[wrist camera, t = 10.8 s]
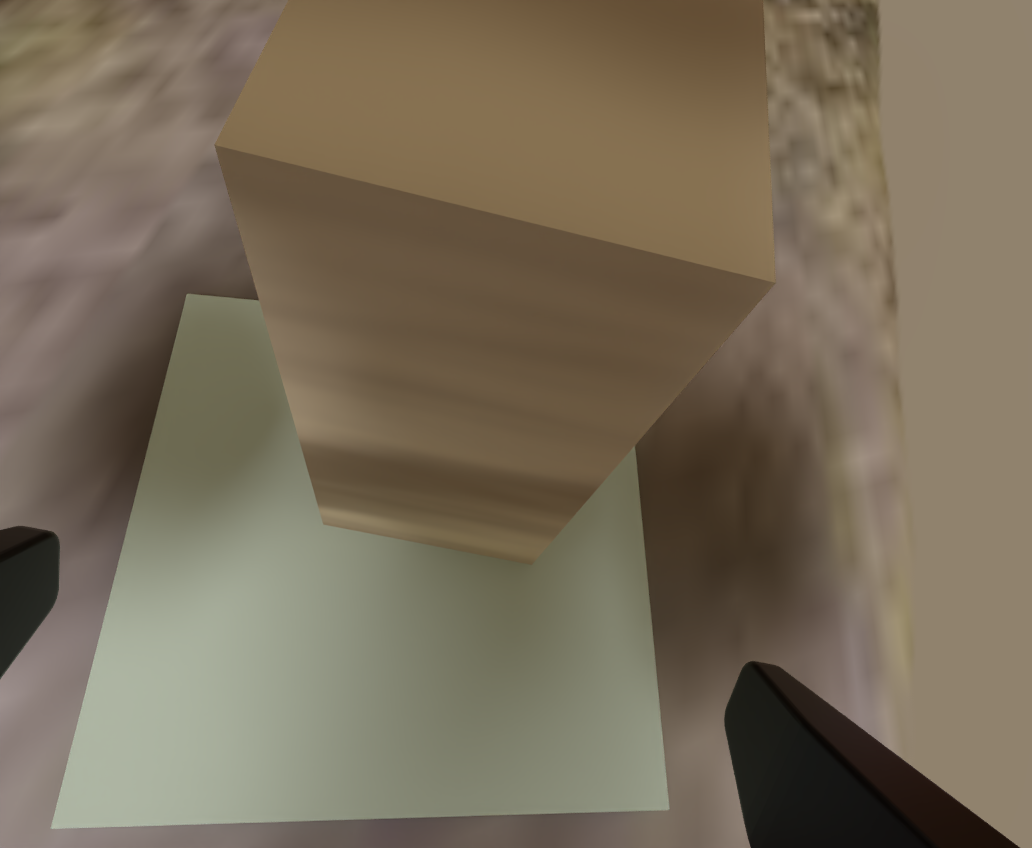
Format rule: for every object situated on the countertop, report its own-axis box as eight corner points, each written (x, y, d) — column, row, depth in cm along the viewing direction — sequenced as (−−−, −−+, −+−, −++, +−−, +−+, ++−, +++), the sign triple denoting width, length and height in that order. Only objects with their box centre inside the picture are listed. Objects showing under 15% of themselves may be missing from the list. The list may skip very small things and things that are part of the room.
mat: (663, 808, 14) (669, 809, 14) (57, 826, 12) (50, 829, 12) (621, 341, 19) (624, 335, 19) (189, 300, 17) (186, 293, 17)
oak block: (531, 564, 16) (775, 282, 6) (323, 524, 15) (214, 144, 5) (556, 386, 18) (762, -30, 8) (375, 346, 17) (364, -148, 8)
